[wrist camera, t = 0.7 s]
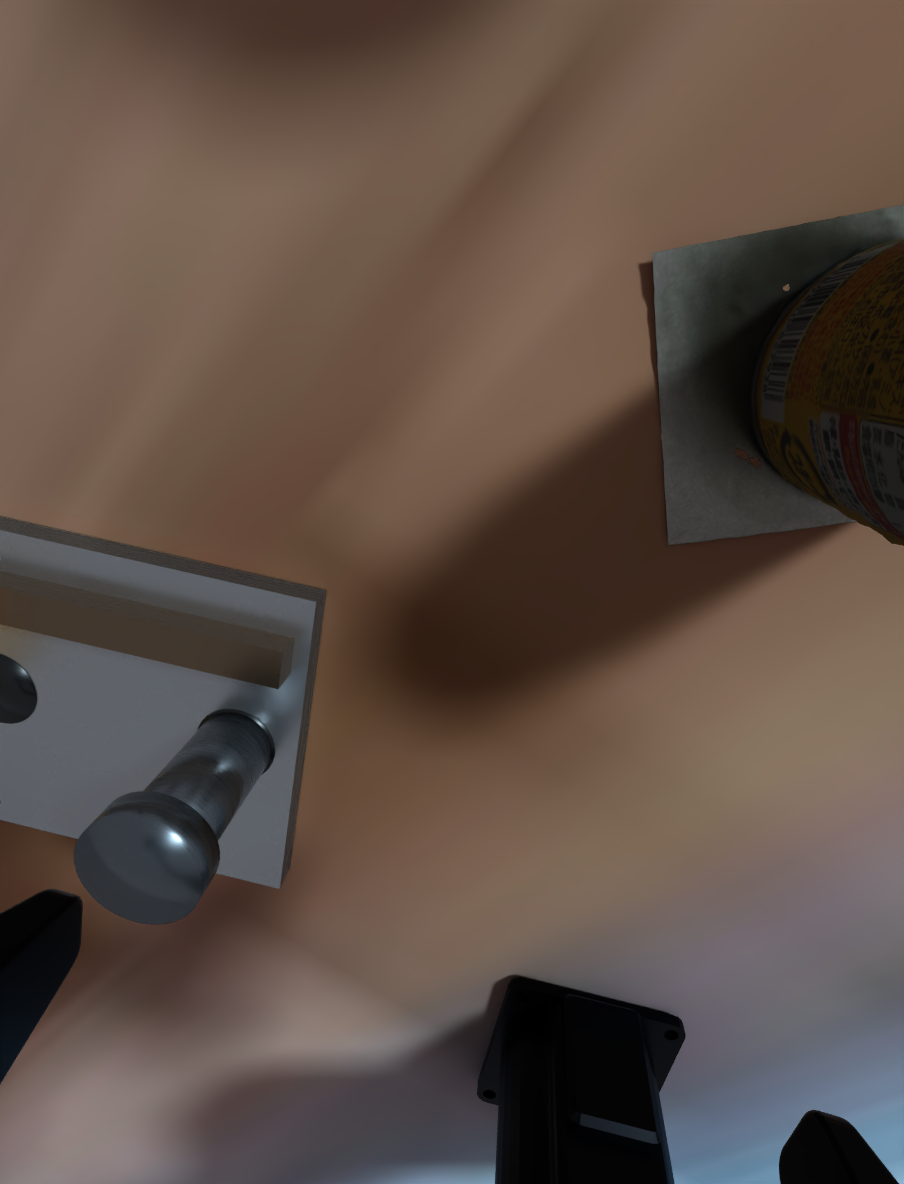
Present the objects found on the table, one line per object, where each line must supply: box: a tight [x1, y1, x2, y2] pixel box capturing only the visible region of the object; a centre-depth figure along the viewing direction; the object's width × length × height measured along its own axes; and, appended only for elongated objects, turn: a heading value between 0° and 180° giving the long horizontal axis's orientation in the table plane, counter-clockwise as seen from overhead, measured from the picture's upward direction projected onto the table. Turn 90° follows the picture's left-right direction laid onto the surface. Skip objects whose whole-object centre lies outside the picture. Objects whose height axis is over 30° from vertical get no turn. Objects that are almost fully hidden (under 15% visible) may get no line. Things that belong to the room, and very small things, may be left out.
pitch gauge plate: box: [0, 516, 326, 924], centre depth 19 cm, size 11×16×6 cm
